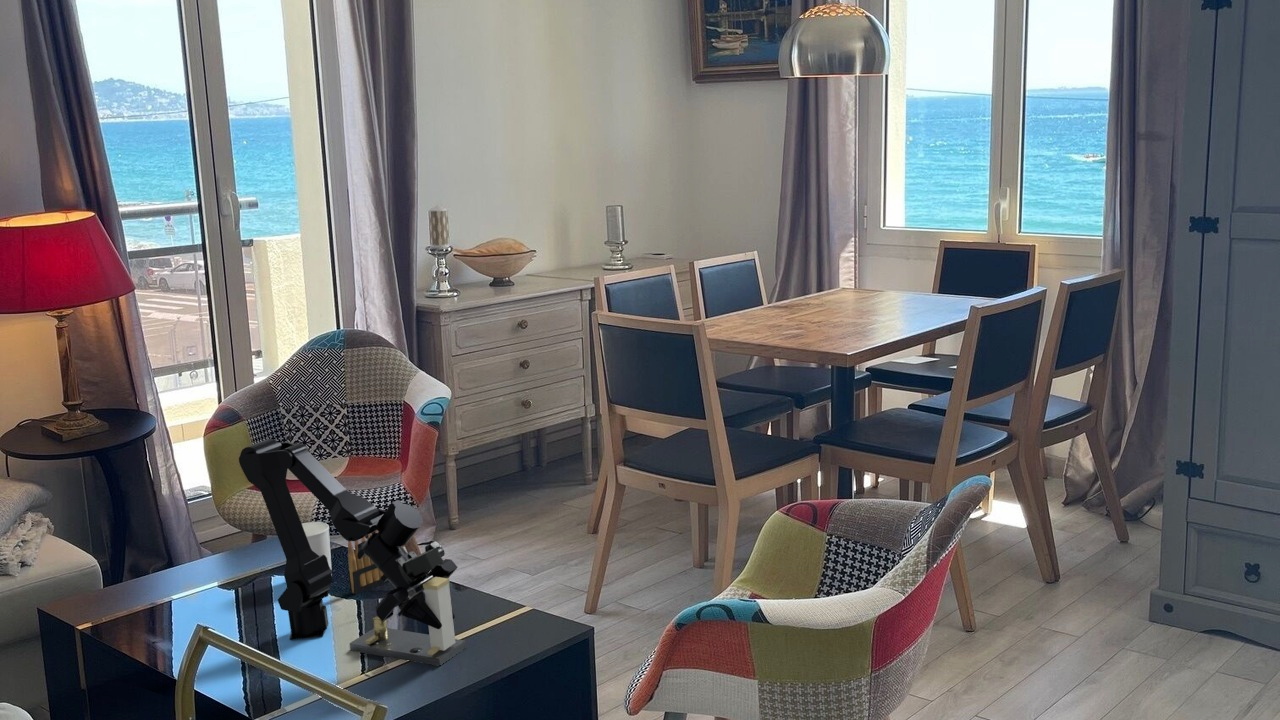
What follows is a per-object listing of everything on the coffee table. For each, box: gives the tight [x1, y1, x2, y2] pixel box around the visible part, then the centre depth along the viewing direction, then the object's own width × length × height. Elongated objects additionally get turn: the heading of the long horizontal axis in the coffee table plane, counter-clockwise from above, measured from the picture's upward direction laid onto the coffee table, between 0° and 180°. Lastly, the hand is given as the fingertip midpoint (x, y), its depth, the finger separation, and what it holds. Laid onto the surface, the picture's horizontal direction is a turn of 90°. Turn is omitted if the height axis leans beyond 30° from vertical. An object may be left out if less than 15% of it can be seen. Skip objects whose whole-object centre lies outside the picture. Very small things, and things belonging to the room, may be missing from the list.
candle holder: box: [301, 521, 333, 576], centre depth 262 cm, size 10×10×12 cm
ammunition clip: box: [347, 530, 390, 595], centre depth 256 cm, size 11×2×12 cm, turn 139°
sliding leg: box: [423, 577, 456, 655], centre depth 218 cm, size 3×6×13 cm, turn 153°
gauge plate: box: [349, 615, 467, 667], centre depth 223 cm, size 21×8×6 cm, turn 63°
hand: (446, 623), depth 218 cm, fingers closed on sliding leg, 3 cm apart
